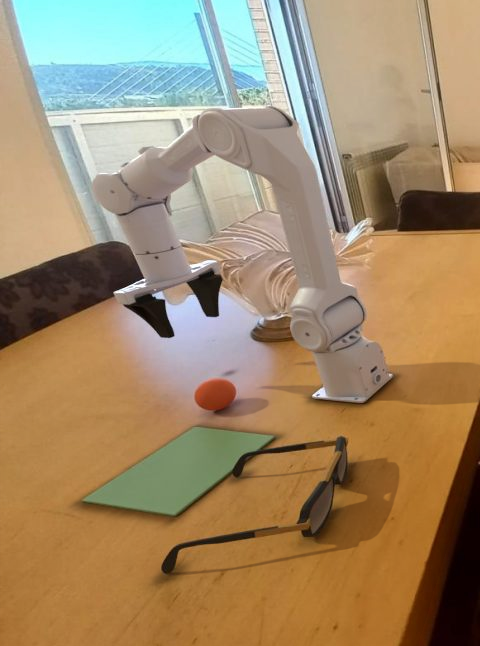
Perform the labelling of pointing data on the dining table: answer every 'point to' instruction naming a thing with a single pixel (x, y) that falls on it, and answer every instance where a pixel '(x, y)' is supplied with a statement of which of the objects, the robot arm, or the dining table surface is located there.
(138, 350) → the dining table surface
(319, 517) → the sunglasses
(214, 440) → the cloth
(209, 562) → the dining table surface
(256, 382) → the dining table surface
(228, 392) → the egg
